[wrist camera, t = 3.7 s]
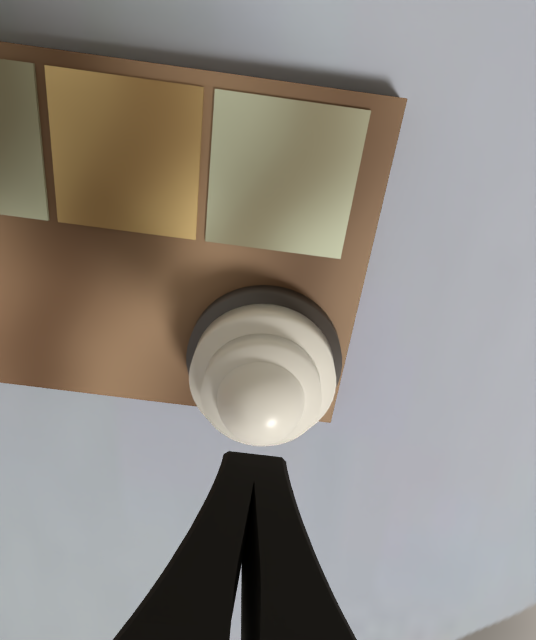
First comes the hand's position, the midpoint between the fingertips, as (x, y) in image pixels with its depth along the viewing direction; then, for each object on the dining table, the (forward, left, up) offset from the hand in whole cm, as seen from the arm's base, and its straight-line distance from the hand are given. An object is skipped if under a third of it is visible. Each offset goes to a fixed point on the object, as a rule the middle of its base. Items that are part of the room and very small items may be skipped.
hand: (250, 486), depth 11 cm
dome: (0, 0, -5) cm, 5 cm away
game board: (-6, +5, -7) cm, 10 cm away
